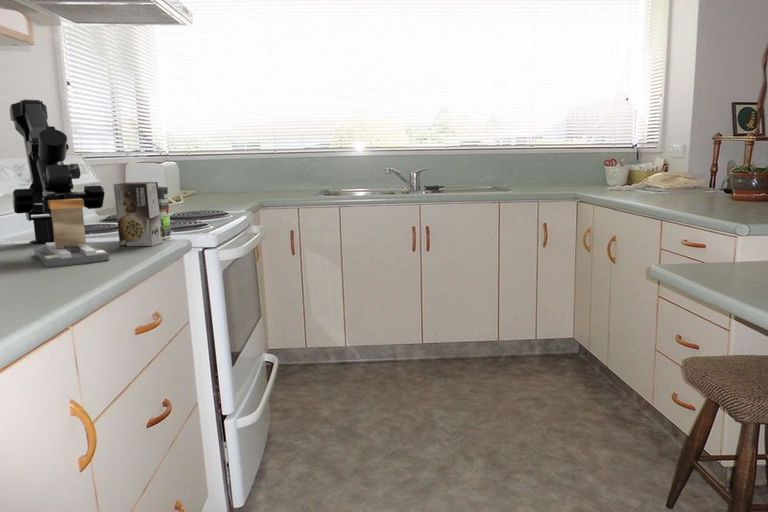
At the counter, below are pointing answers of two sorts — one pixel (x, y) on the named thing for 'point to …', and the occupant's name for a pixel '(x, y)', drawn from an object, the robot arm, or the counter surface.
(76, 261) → the fader deck
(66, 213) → the block
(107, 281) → the counter surface
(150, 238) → the grey printed cardboard box
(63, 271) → the counter surface
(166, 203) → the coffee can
